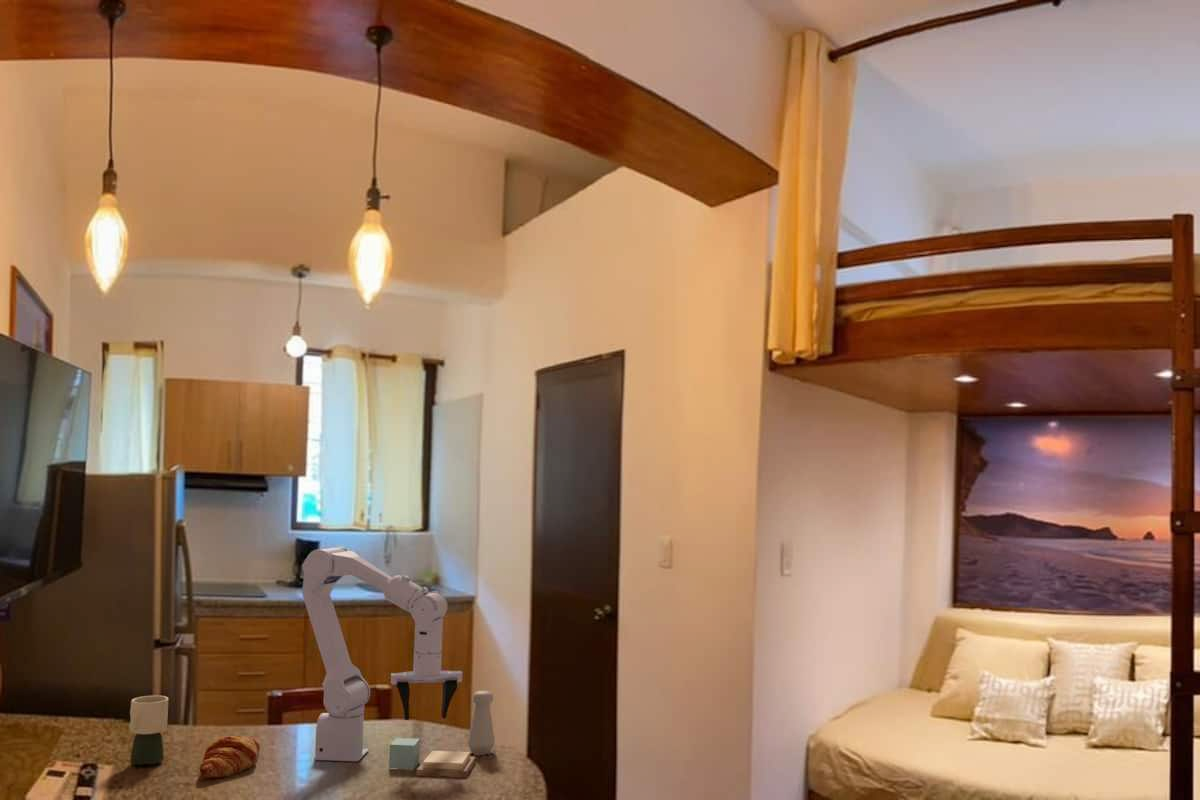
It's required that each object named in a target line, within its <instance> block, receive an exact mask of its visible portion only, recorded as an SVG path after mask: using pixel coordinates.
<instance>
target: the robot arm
mask: <svg viewBox="0 0 1200 800" xmlns="http://www.w3.org/2000/svg"><path fill="white" fill-rule="evenodd" d="M301 568H302V571H303V582H302V589H301V590H302V592H301V593H302V597H303V602H304V605H305V607H306V611H307V614H308V616H309V620H310V624H311V627H312V631H313V633H314V636H315V641H316V643H317V646H318V649H319V653H320V656H321V659H322V663H323V665H324V669H325V672H326V673H325V676H324V679H323V681H322V688H323V699H322V700H323V706H324V708H325V710H326V711H327V712H322V713H320V715H319V716H318V718H317V721H316V727H315V746H314V747H315V749H314V750H315V753H314V757H313V760H315V761H335V762H359V761H360V760H362V758H363V757H364V756H365V755H367V753H368V752H369V750H370V749H368V748H364V727H365V726H364V723H365V722H364V719H365V718H364V717H365V705H366V704H367V703H368V701H369V700H370V698H371V688H370V685H369V683H368V682H367V681H366V679H364V678H363V676H362V673H361V670H360V669H359V668H358V667H357V666H355V665H354V664H353V663H352V661H351V658H350V654H349V651H348V648H347V644H346V642H345V638H344V634H343V632H342V628H341V625H340V622H339V619H338V615H337V613H336V612H337V611H336V609H335V605H334V602H333V599H332V596H331V593H332V592H333V589H334V588H335V586H336V584H337V583H338V582H339V580H341V579H342V577H345V576H352V577H355V578H357V579H359V580H361V581H362V582H365V583H367V584H368V585H371V586H372V587H375V588H377V589H379V590H381V591H383V596H384V598H385V600H387V601H389V602H390V603H392V604H394V605H396V606H397V607H398V608H400V609H403V610H404V611H406V612H408V613H410V615H411V618H412V619H413V621H414V624H415V625H414V644H413V646H414V648H413V665H412V666H413V671H412V670H411V671H405V672H396V673H394V672H391V674H390V684H391V685H392V686H393V685H395V686H396V688H397V690H398V693H399V696H400V700H401V703H402V709H403V715H404V717H403V718H404V720H405V721H409V720H410V707H409V706H410V705H409V704H410V694H411V693H410V691H411V689H410V684H421V683H422V684H424V683H425V684H427V683H442V703H441V718H442V719H447V714H448V710H449V706H450V704H451V701H452V699H453V697H454V694H455V693H456V691H457V689H458V683H462V682H463V672H462V671H461V670H442V653H443V652H442V650H443V621H444V620H443V619H444V618H443V617H444V616H445V614H446V613H447V612H448V601H447V599H446V598H445V596H444V595H443V594H442V593H441V592H440V591H436V590H435V591H429V588H428V587H426V586H420V585H419V584H416V583H414V582H413V581H411V577H410V576H408V575H407V574H404V575H400V574H397V575H395V576H392V575H391V576H390V575H389V574H388V573H386V572H385V571H383V570H381V569H380V568H378V567H376V566H375V565H373V564H372V563H370V562H368V561H367V560H366V559H364V558H362V557H361V556H359V555H358V554H357V553H356V552H355V551H352V550H349V549H347V548H346V547H344V546H341V545H339V546H338V545H337V546H334V547H331V548H323V549H321V548H320V549H319V548H318V549H314V550H311V551H310V553H308V555H307V556H306V558H305V560H304V561H303V563H302V565H301ZM446 615H447V614H446Z"/></svg>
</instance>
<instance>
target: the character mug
mask: <svg viewBox="0 0 1200 800" xmlns="http://www.w3.org/2000/svg"><path fill="white" fill-rule="evenodd" d="M168 712H169V697H168V696H166V695H144V696H139V697H134V698H132V699H131V701H130V709H129V715H130V723H129V726H128V727H129V730H130V732H131V733H133V734H135V737H134V738H133V742H132V747H131V752H130V758H129V759H130V760H129V764H131V765H141V767H143V766H145V765H152V764H159V763H161V762H163V761H164V759H165V757H164V756H165V755H164V743H163V735H162V734H161V733H162V732H164V731H166V730H167V728H168Z"/></svg>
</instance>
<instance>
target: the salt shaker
mask: <svg viewBox="0 0 1200 800" xmlns="http://www.w3.org/2000/svg"><path fill="white" fill-rule="evenodd" d="M493 696H494V695H493V693H492V692H491V691H488V690H477V691H475V692H474V693H473V695H472V702H473V704H475V705H474V709H473V715H472V719H471V723H470V728H469V729H470V730H469V732H468V739H467V745H468V748H469V750H470V753H471V752H472V753H473V754H472V753H471V754H472V755H474V754H478V755H477V756H480V755H483V756H486V755H485V754H488V755H490V754H491V752H492V750H493V748H494V746H495V743H496V740H495V735H494V733H495V732H494V727H493V720H492V713H491V711H492V710H491V706H490V705H491V703H493V700H494V697H493Z"/></svg>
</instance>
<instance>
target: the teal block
mask: <svg viewBox="0 0 1200 800" xmlns="http://www.w3.org/2000/svg"><path fill="white" fill-rule="evenodd" d="M420 750H421V739H420V738H410V737H409V738H406V737H405V738H403V737H396V738H395V739H394V740H393V741H392V742H391V743H390V744H389V758H388V759H389V763H388V764H389V765H388V769H389V768H397V769H406V770H405V771H414V770H415V769H416V768H417V767H418V765H419V764H420ZM418 763H419V764H418ZM415 767H416V768H415ZM414 768H415V769H414Z"/></svg>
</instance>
